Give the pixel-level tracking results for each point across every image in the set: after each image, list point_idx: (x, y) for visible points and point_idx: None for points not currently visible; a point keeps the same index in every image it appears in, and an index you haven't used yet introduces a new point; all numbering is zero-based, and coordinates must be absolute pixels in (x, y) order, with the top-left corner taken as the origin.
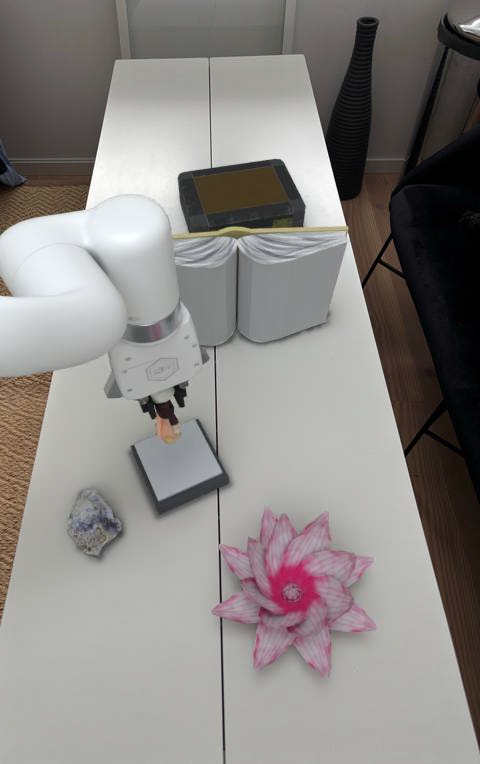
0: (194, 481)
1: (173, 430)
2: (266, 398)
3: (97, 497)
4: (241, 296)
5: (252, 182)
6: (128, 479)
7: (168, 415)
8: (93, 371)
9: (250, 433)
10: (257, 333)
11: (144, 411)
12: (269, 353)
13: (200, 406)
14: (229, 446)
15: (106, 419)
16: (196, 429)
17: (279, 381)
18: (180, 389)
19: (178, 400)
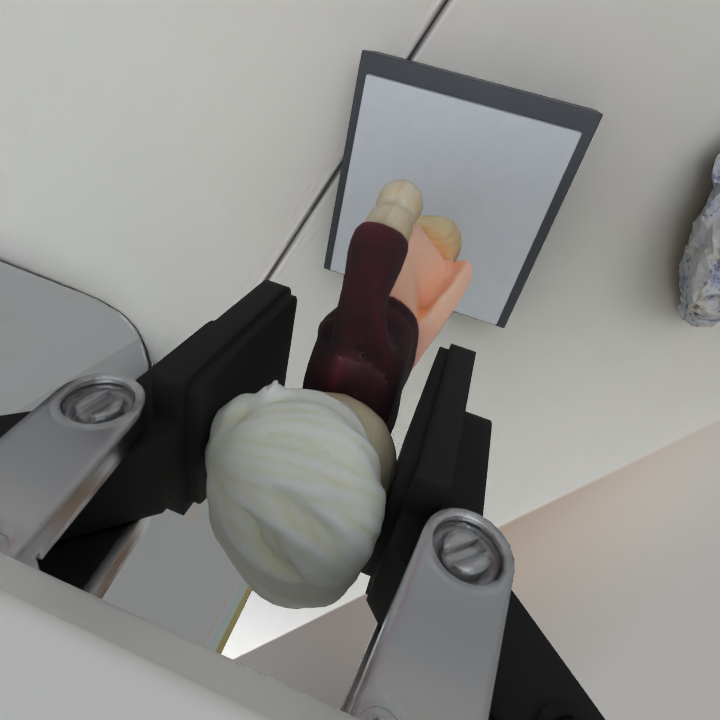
0: (451, 109)
1: (416, 214)
2: (168, 198)
3: (711, 272)
4: None
5: None
6: (568, 263)
7: (378, 301)
8: None
9: (245, 145)
10: (107, 334)
11: (483, 431)
12: (117, 282)
13: (304, 291)
14: (308, 152)
15: (487, 411)
16: (344, 244)
17: (125, 212)
18: (163, 392)
19: (255, 334)
